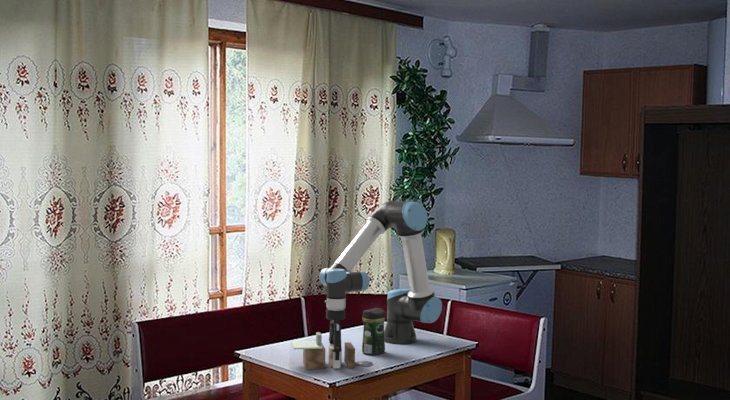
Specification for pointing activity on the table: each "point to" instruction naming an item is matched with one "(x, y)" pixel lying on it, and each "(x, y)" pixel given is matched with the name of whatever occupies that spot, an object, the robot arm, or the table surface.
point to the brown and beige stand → (317, 357)
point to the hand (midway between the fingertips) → (334, 364)
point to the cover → (309, 343)
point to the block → (332, 356)
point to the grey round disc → (363, 363)
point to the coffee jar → (373, 331)
